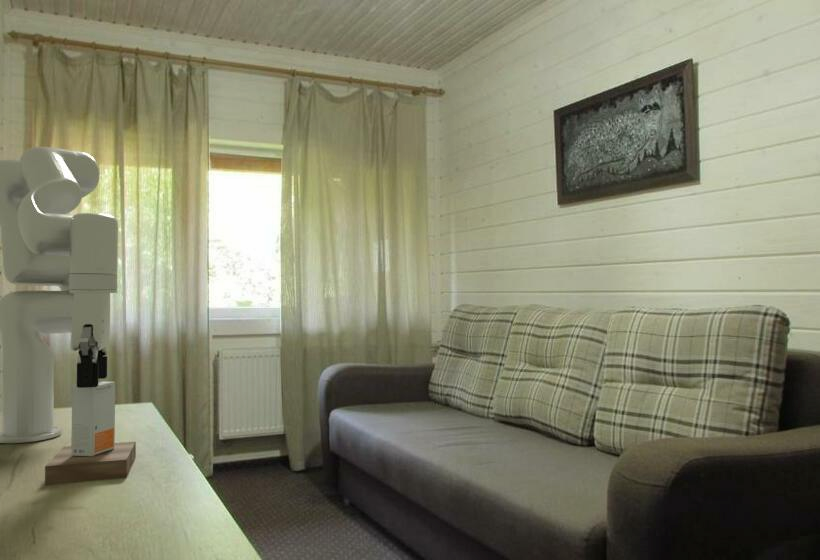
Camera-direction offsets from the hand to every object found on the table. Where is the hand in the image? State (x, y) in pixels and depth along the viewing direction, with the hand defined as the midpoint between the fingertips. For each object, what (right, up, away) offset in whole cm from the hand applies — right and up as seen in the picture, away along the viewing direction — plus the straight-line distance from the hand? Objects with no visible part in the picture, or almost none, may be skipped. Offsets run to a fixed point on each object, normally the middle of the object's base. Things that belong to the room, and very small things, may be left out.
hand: (92, 382), depth 111 cm
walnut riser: (+1, -15, -1) cm, 15 cm away
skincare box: (+1, -12, 0) cm, 12 cm away
